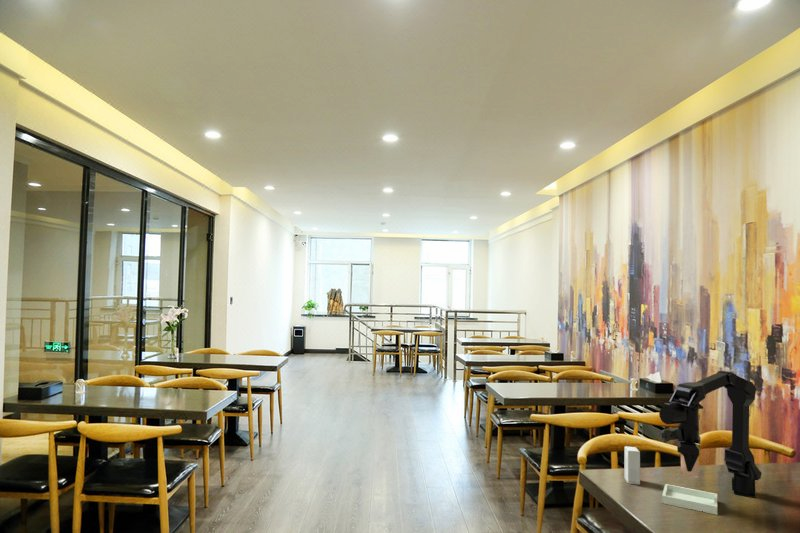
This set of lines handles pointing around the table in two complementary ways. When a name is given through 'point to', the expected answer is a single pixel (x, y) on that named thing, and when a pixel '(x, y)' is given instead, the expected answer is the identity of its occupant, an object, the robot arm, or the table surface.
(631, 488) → the table surface
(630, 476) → the skincare box
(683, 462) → the cup
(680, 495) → the tray
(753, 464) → the robot arm
